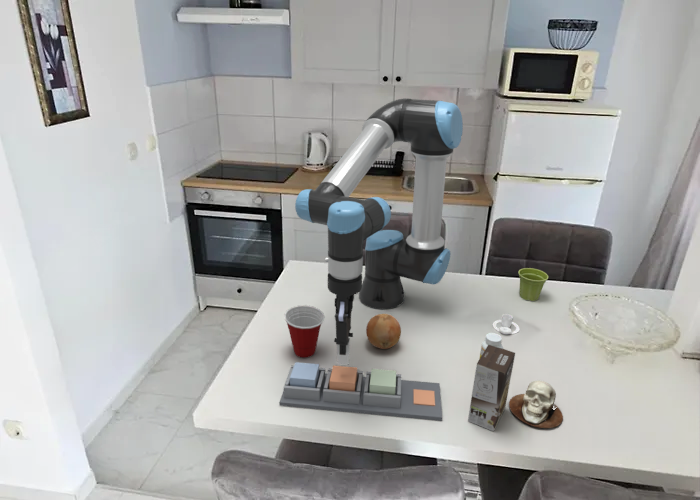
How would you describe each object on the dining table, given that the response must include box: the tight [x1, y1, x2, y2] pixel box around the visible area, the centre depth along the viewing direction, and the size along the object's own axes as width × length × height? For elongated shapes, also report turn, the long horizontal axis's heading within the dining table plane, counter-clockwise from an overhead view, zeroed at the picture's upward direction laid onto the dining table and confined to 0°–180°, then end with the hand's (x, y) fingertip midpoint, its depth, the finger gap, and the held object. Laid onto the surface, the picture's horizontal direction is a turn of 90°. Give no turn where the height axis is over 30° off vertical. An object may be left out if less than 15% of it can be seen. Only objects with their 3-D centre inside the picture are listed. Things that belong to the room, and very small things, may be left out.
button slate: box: [290, 361, 320, 388], centre depth 118 cm, size 6×6×3 cm
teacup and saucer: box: [492, 313, 521, 335], centre depth 147 cm, size 9×8×4 cm
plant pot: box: [518, 267, 549, 302], centre depth 163 cm, size 9×9×9 cm
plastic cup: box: [283, 304, 326, 359], centre depth 132 cm, size 11×11×12 cm
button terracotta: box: [329, 365, 358, 392], centre depth 117 cm, size 6×6×3 cm
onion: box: [365, 313, 402, 350], centre depth 136 cm, size 10×10×10 cm
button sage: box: [369, 368, 397, 395], centre depth 116 cm, size 6×6×3 cm
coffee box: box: [467, 345, 516, 432], centre depth 110 cm, size 9×6×16 cm
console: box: [278, 364, 443, 422], centre depth 118 cm, size 38×12×4 cm, turn 83°
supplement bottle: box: [478, 332, 504, 359], centre depth 127 cm, size 5×5×10 cm
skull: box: [508, 380, 564, 429], centre depth 114 cm, size 12×10×10 cm
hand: (343, 362), depth 115 cm, fingers closed
